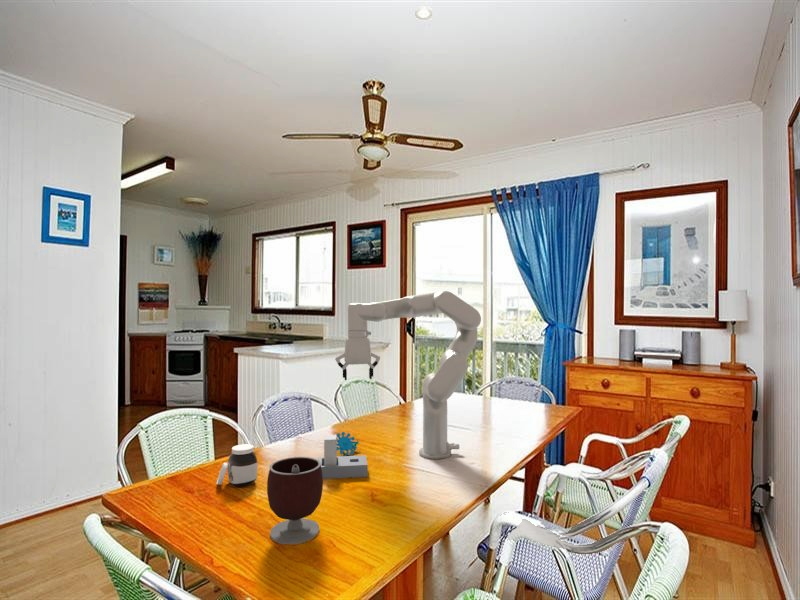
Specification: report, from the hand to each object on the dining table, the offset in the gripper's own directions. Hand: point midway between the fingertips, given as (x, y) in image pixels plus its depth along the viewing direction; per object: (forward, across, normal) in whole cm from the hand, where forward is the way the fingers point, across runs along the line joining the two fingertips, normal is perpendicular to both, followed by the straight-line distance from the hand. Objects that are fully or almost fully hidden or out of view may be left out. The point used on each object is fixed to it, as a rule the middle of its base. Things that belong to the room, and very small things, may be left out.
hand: (358, 379), depth 174 cm
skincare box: (+29, +11, +16) cm, 35 cm away
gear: (+30, +5, -5) cm, 31 cm away
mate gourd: (+30, +20, +57) cm, 67 cm away
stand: (+30, +7, +16) cm, 35 cm away
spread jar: (+30, +42, +20) cm, 55 cm away
